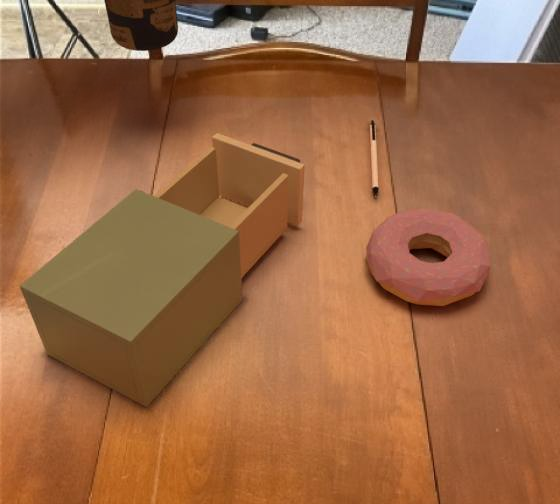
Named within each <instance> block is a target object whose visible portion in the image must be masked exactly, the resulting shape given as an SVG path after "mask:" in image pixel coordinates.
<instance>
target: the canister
mask: <svg viewBox="0 0 560 504" xmlns="http://www.w3.org/2000/svg"><path fill="white" fill-rule="evenodd" d="M104 6H105V10H106V11H105V12H106V16H107V19H108V25H109V30H110V31H109V32H110V35H111V37H112V39H113V41H114V42H115V43H116V44H117V45H118V46H120V47H122V48H124V49H126V50H130V51H135V52H136V51H137V52H148V51H149V52H150V51H155V50H160V49H162V48H165V47H167V46H169V45H170V44H172V43H173V42H174V41H175V40H176V38H177V37H178V34H179V23H178V13H177V0H104Z"/></svg>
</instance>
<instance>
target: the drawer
mask: <svg viewBox="0 0 560 504" xmlns="http://www.w3.org/2000/svg"><path fill="white" fill-rule="evenodd" d="M211 140H212V143H211V144H212V146H208V148H207V149H205V150H204V152H202V153H201V154H200V155H199V156H198V157H196V158H195V159H194V160H193V161H192V162H191V163H189V165H187V166H186V167H185V168H184V169H182V170H181V172H179V173H178V174H177V175H175V176H174V177H173V178H172V179H171V180H170V181H168V182H167V184H165V185H164V186H163V187H161V189H159V190H158V191H157V192H156V193H155V194H154V195H153V196H155V197H157V198H160V199H162V200H164V201H167V202H169V203H172V204H174V205H177V206H179V207H181V208H184V209H186V210H189V211H191V212H194V213H196V214H198V215H201V216H203V217H206V218H208V219H211V220H213V221H215V222H218V223H220V224H223V225H225V226H228V227H230V228H232V229H235V230H237V231H239V242H240V264H241V279H242V278H243V277H244V276H245V275H246V274H247V273H248V272H249V270H250V269H251V268H253V266H254V265H255V264H256V263H257V262H258V261H259V260H260V258H262V257H263V256H264V254H265V253H266V252H267V251H268V250H269V249H270V248H271V247H272V245H273V244H274V243H275V242H276V241H277V240H278V239H279V238H280V237H281V236H282V235H283V233H285V231H286V230H287V229H288V223H289V224H291V225H293V226H296V227H299V226H300V225H301V224H302V222H303V211H304V210H303V208H304V190H305V189H304V188H305V187H304V186H305V165H306V164H304V163H301V160H300V158H297V157H295V156H291V155H289V154H285V153H283V152H281V151H277V150H275V149H272V148H269V147H266V146H265V145H264V146H263V145H261V144H258V143H255V142H253V143H251V144H249V143H247V142H243V141H240V140H238V139H236V138H232V137H230V136H227V135H224V134H222V133H218V132H216V133H215V134H214V135H213V136H211Z"/></svg>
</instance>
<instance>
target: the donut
mask: <svg viewBox="0 0 560 504" xmlns="http://www.w3.org/2000/svg"><path fill="white" fill-rule="evenodd" d="M422 249H432V250H434V251H436V252H437V253H439V254H440V255H442V256H444V257H446V258H445V260H443V261H438V262H427V261H423V260H420V259H419V258H417V257H416V256H415V255H413V254H412V253H411V252H410V251H411V250H422ZM490 250H491V249H490V246H489V244H488V242H487V241H486V239H485V237H484V236H483V234H482V233H481V231H479V230H478V229H477V228H475V227H474V226H472V225H471V224H469V223H468V222H467V221H466V220H464V219H462V218H461V217H460V216H458V215H457V214H455V213H452V212H445V211H440V210H436V209H435V210H434V209H428V208H417V209H410V210H405V211H399V212H398V213H395V214H392V215H391V216H388V217H386V218H385V219H384V220H383V221H382V222H381V223H380V224H379V225H378V226H377V227H375V228H374V229H373V230H372V233H371V235H370V237H369V240H368V242H367V244H366V247H365V251H366V261H367V265H368V268H369V271H370V274H371V275H372V276H373V278H374V279H375V282H377V283H378V284H379V285H380V286H381V287H382V288H383V290H385V291H387V292H389V293H391V294H393V296H396V297H398V298H400V299H402V300H404V302H405V301H406V302H408V303H411V304H414V305H417V306H419V305H420V306H437V307H445V306H447V305H451V304H452V303H456V302H457V301H461V300H463V299H466V298H469V297H471V296H473V295H474V294H475V293H477V292H480V291H481V289H482V288H483V285H484V284H485V281H486V279H487V277H488V275H489V274H490V270H491V261H490V260H491V259H490V256H491V255H490Z"/></svg>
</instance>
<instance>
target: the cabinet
mask: <svg viewBox="0 0 560 504" xmlns="http://www.w3.org/2000/svg"><path fill="white" fill-rule="evenodd" d="M19 288H20V291H21V294H22V296H23V298H24V301H25V302H26V305H27V308H28V311H29V313H30V316H31V318H32V320H33V323H34V326H35V328H36V330H37V331H36V332H37V334H38V336H39V339H40V340H41V343H42V345H43V349H44V350H45V353H46V355H48V356H50V357H51V358H52V359H55V360H57V361H59V362H61V363H63V364H65V365H66V366H69V367H70V368H73V369H74V370H75V371H77V372H79V373H81V374H83V375H85V376H87V377H89V378H91V379H92V380H94V381H96V382H99V383H100V384H102V385H104V386H106V387H108V388H110V389H111V390H113V391H115V392H117V393H119V394H120V395H122V396H124V397H126V398H128V399H130V400H132V401H134V402H136V403H137V404H139V405H141V406H143V407H145V408H148V407H149V405H151V404H152V402H153V401H154V400H155V399H156V398H157V397H158V396H159V394H161V392H162V391H163V390H164V389H165V388H166V386H167V385H168V384H169V383H170V382H171V381H172V380H173V379H174V378H175V376H177V374H178V373H179V372H180V371H181V370H182V369H183V368H184V367H185V366H186V364H187V363H188V362H189V361H190V359H192V358H193V356H194V355H195V354H196V353H197V352H198V351H199V350H200V349H201V347H202V346H203V345H204V344H205V343H206V341H208V339H209V338H210V337H211V336H212V335H213V334H214V333H215V332H216V331H217V329H218V328H219V327H220V326H221V325H222V323H224V321H225V320H226V319H227V318H228V317H229V316H230V315H231V314H232V312H233V311H234V310H236V308H237V307H238V306H239V305H240V303H241V302H242V301H243V290H242V289H243V285H242V278H241V264H240V242H239V231H237V230H235V229H232V228H230V227H228V226H225V225H223V224H220V223H218V222H215V221H213V220H211V219H208V218H206V217H203V216H201V215H198V214H196V213H194V212H191V211H189V210H186V209H184V208H181V207H179V206H177V205H174V204H172V203H169V202H167V201H164V200H162V199H160V198H157V197H155V196H154V195H152V194H150V193H147V192H145V191H142V190H140V189H138V188H135V189H133V190H132V191H131V192H130V193H129V194H128V195H126V197H124V198H122V199H121V200H120V201H119V202H118V203H117V204H115V206H113V207H112V208H111V209H110V210H109V211H108V212H106V213H105V214H103V216H101V217H100V218H99V219H98V220H97V221H95V222H94V223H93V224H92V225H90V227H88V228H87V229H86V230H85V231H83V232H82V233H81V234H80V235H78V236H77V237H76V238H75V239H74V240H73V241H71V242H70V243H69V244H67V245H66V247H64V248H63V249H62V250H60V251H59V252H58V253H56V255H55V256H54V257H52V258H51V259H50V260H48V261H47V262H46V263H45V264H43V266H41V267H40V268H39V269H38V270H36V271H35V272H34V273H33V274H32V275H31V276H29V277H28V278H27V279H26V280H24V282H22V283H21V284H20V285H19Z"/></svg>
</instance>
